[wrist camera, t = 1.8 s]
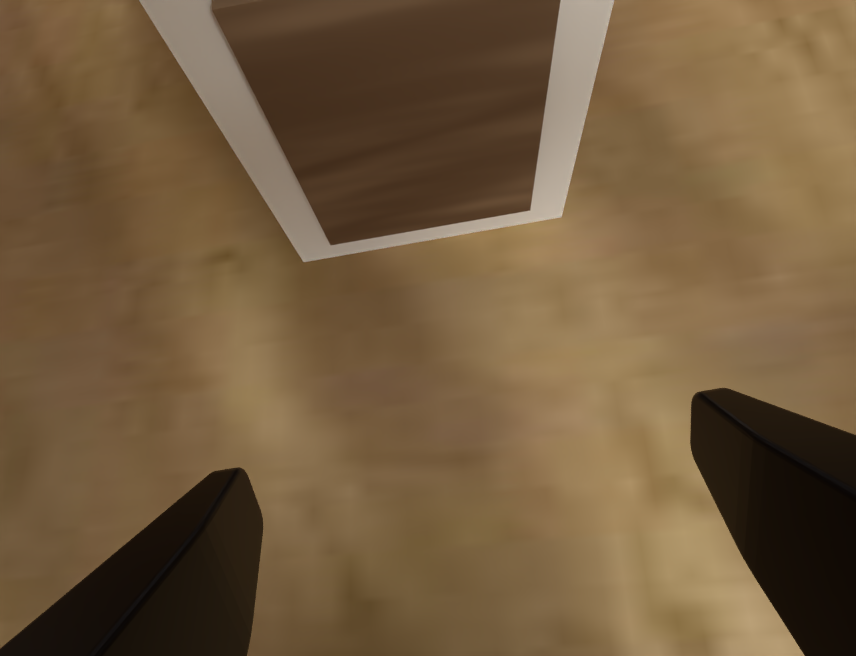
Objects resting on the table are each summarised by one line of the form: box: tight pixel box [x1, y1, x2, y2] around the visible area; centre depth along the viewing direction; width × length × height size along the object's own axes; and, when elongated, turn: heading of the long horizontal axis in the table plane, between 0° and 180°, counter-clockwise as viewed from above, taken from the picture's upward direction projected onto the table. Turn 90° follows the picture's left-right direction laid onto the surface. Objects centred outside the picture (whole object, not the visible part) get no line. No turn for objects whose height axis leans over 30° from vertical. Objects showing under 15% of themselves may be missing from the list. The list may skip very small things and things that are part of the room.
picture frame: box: [139, 0, 614, 262], centre depth 19 cm, size 5×11×14 cm, turn 99°
